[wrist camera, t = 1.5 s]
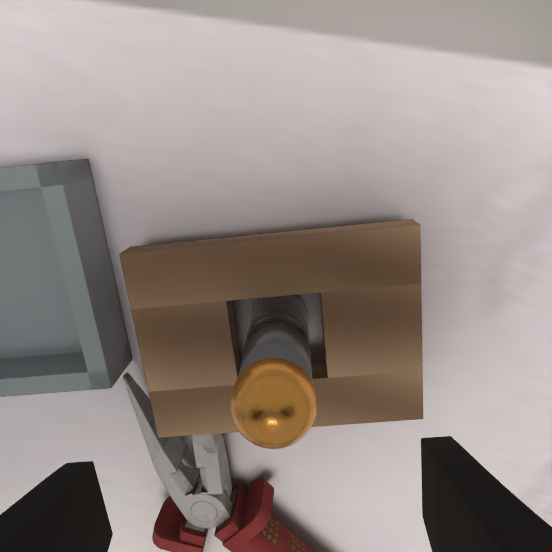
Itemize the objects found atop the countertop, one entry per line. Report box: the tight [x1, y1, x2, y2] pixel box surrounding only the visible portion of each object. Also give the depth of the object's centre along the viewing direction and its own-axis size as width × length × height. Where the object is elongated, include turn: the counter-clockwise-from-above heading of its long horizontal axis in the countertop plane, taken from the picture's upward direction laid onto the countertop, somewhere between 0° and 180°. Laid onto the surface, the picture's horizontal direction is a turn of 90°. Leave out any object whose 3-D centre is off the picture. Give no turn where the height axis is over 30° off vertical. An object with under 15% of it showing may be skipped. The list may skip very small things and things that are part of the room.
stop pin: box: [230, 295, 318, 449], centre depth 16 cm, size 3×3×8 cm
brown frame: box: [119, 219, 423, 438], centre depth 19 cm, size 8×11×2 cm
